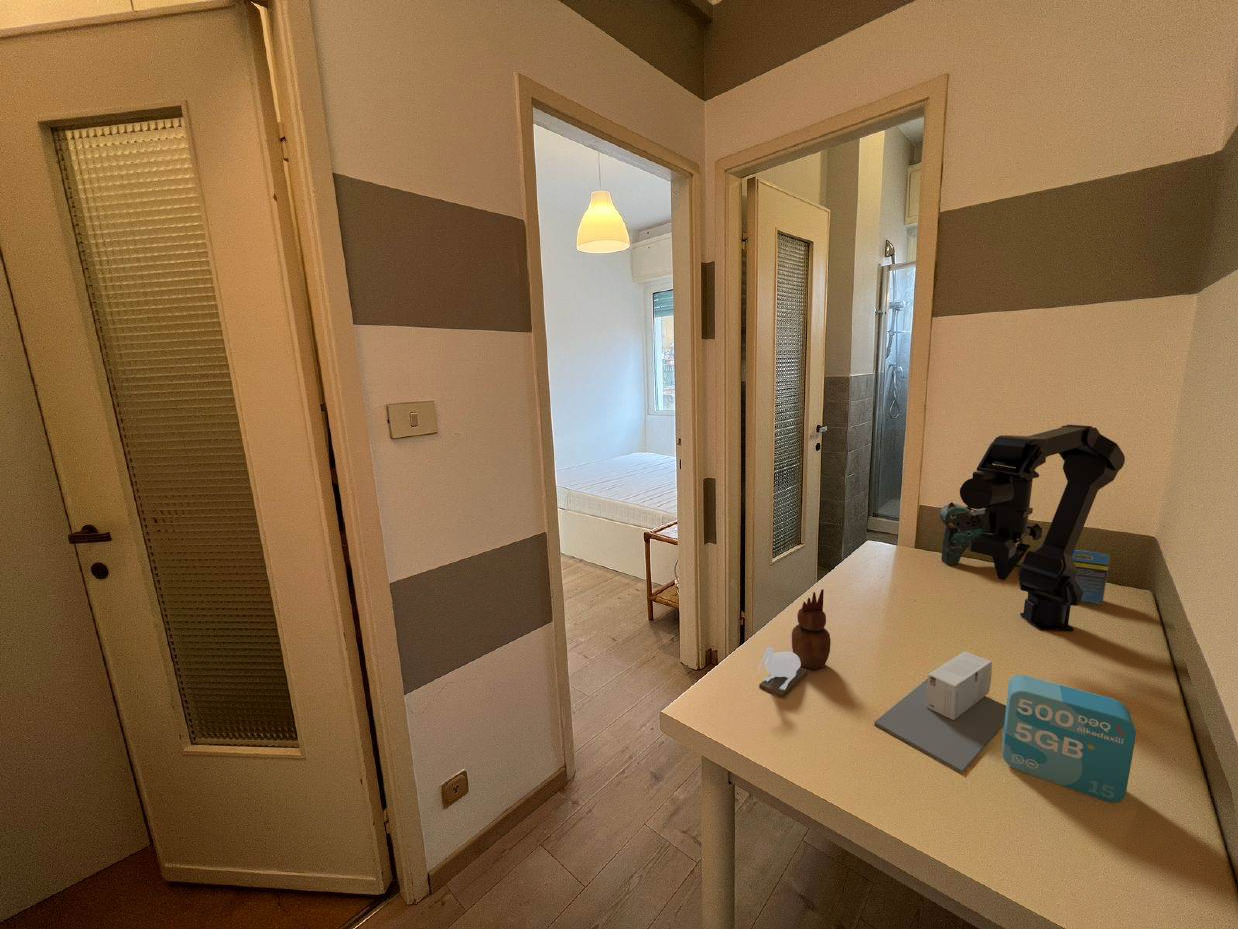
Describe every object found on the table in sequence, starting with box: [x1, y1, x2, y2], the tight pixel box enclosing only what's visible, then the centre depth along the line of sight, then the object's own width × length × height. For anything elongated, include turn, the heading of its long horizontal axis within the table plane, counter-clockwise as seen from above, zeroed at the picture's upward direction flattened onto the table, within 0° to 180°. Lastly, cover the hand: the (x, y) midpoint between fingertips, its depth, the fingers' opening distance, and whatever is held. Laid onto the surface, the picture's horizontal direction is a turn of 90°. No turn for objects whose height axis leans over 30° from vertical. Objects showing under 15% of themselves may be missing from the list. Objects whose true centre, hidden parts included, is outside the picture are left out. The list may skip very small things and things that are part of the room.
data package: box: [1002, 674, 1137, 804], centre depth 65 cm, size 12×4×12 cm, turn 53°
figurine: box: [756, 646, 809, 699], centre depth 86 cm, size 14×4×9 cm, turn 134°
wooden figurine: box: [791, 588, 832, 670], centre depth 91 cm, size 7×6×15 cm
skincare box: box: [926, 651, 993, 720], centre depth 80 cm, size 6×4×12 cm
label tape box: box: [1072, 549, 1111, 606], centre depth 113 cm, size 9×4×12 cm, turn 58°
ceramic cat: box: [939, 501, 1024, 568], centre depth 134 cm, size 20×6×20 cm, turn 81°
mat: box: [873, 678, 1006, 774], centre depth 77 cm, size 20×12×1 cm, turn 125°
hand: (1001, 579), depth 96 cm, fingers closed
